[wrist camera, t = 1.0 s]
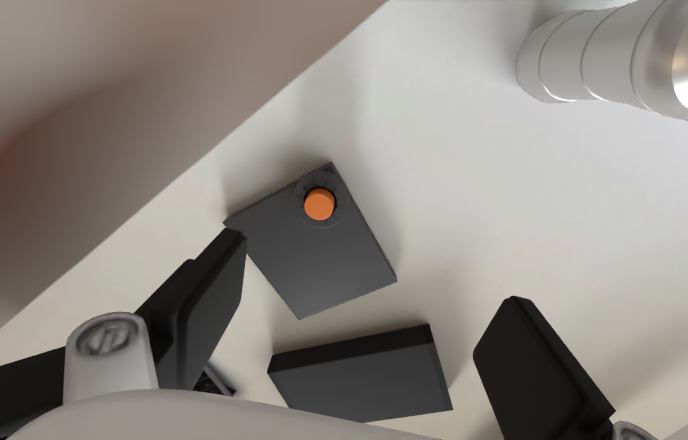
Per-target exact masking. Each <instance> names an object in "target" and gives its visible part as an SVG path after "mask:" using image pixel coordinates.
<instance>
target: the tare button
mask: <svg viewBox="0 0 688 440" xmlns="http://www.w3.org/2000/svg"><path fill="white" fill-rule="evenodd" d="M333 207H334V197H333V195H332V194H331V193H330V192H329V191H328V190H326V189H322V188H318V189H314V190H312V191H311V192H310V193H309V194H308V196H307V198H306V201H305V204H304V208H305V211H306V213H307V214H308V215H309V216H310V217H311V218H313V219H316V220H323V219H326V218H328V217H329V216H330V215H331V213H332V211H333Z"/></svg>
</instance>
